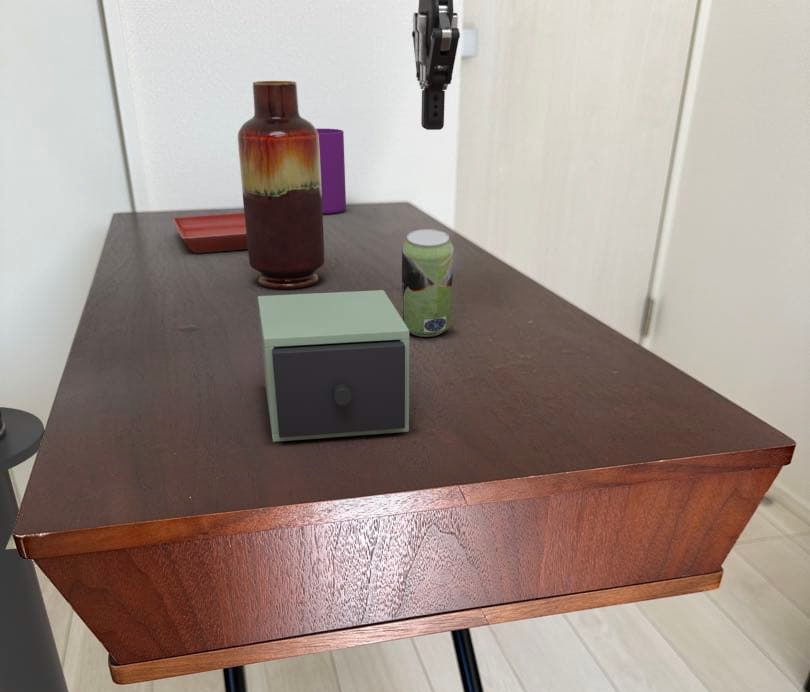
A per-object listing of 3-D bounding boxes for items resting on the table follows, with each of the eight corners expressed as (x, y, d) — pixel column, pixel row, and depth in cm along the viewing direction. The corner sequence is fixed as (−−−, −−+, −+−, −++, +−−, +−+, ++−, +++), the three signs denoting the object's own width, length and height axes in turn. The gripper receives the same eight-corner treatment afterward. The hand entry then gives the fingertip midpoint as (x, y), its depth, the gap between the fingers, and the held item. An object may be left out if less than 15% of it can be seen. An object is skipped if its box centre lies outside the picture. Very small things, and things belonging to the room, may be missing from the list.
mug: (349, 214, 171) (347, 132, 163) (272, 217, 168) (266, 134, 160) (342, 206, 178) (339, 127, 171) (269, 209, 175) (262, 129, 168)
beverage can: (443, 323, 107) (445, 224, 101) (458, 340, 101) (462, 237, 95) (395, 326, 106) (394, 226, 100) (407, 344, 100) (408, 239, 94)
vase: (335, 275, 128) (327, 80, 115) (311, 293, 119) (299, 84, 105) (267, 270, 130) (252, 79, 117) (238, 288, 121) (218, 83, 108)
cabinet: (409, 431, 78) (409, 330, 73) (272, 442, 76) (263, 338, 71) (385, 380, 90) (383, 289, 85) (265, 388, 88) (257, 296, 83)
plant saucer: (184, 257, 138) (181, 236, 136) (174, 235, 153) (171, 216, 151) (292, 249, 143) (291, 229, 141) (272, 229, 158) (271, 210, 156)
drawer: (407, 433, 76) (407, 349, 72) (280, 443, 74) (273, 357, 70) (382, 380, 87) (381, 305, 83) (272, 387, 85) (265, 311, 81)
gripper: (388, -63, 87) (389, 123, 96) (410, -76, 76) (408, 136, 85) (459, -61, 88) (453, 123, 97) (491, -74, 77) (480, 135, 86)
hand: (432, 128), depth 91 cm, fingers closed
